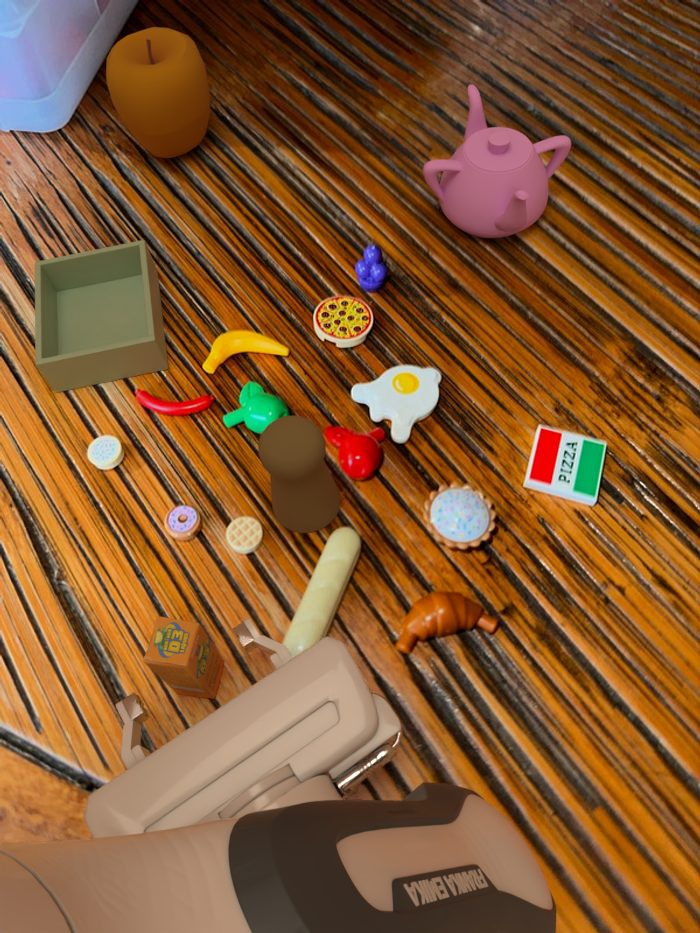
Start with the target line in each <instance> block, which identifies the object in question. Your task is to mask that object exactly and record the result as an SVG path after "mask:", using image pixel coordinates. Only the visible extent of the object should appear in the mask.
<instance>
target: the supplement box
mask: <svg viewBox="0 0 700 933" xmlns="http://www.w3.org/2000/svg"><path fill="white" fill-rule="evenodd" d="M142 661H143V663H144V664H145V665H147V667H149V668H150V669H151V670H152V672H154V673H155V674H156V675H157V676H158V677H159V678H160V679H161V680H162V681H163V682H164V683H165V684H166V685H167V686H168V687H170V689H172V690H173V691H174V692H175V693H176V694H177V695H183V696H189V697H195V698H202V699H203V698H205V699H211V700H214V699H216V697H217V693H218V689H219V685H220V682H221V678H222V673H223V670H224V665H225V659H224V658H223V656H222V655H221V654H220V652H219V651H218V649H217V647H216V646H215V644H214V643H213V641H212V640H211V638H210V637H209V635H208V634H207V633H206V631H205V629H204V628H203V627H202V625H201V624H200V623H199V622H195V621H188V620H183V619H177V618H171V617H166V616H161V615H159V616H156V617H155V621H154V629H153V632H152V634H151V637H150V640H149V644H148V647H147V649H146V651H145V653H144V657H143V660H142Z"/></svg>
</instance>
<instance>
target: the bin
mask: <svg viewBox="0 0 700 933" xmlns="http://www.w3.org/2000/svg"><path fill="white" fill-rule="evenodd" d="M165 333H166V332H165V326H164V317H163V308H162V299H161V289H160V280H159V273H158V269H157V267H156V264H155V262H154V259H153V257H152V254H151V252H150V250H149V246H148V244H147V243H146V240H145V239H141V240H136V241H131V242H127V243H126V242H125V243H121V244H117V245H111V246H106V247H102V248H97V249H91V250H88V251H83V252H76V253H71V254H67V255H62V256H58V257H53V258H48V259H43V260H36V261H35V262H34V338H35V339H34V343H35V344H34V346H35V347H34V348H35V352H34V355H35V358H34V359H35V363H34V364H35V366H36V368H37V369H38V371H39V372H40V373H41V375H42V376H43V377H44V379H45V380H46V382H47V383H48V384H49V386H50V387H51V389H52V390H53V391H54V393H56V394H57V393H61V392H66V391H71V390H76V389H80V388H85V387H89V386H90V387H91V386H94V385H100V384H104V383H109V382H113V381H118V380H123V379H128V378H133V377H137V376H142V375H146V374H147V375H148V374H150V373H157V372H161V371H166V370H169V360H168V352H167V344H166V334H165Z"/></svg>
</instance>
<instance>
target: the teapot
mask: <svg viewBox="0 0 700 933" xmlns="http://www.w3.org/2000/svg"><path fill="white" fill-rule="evenodd" d="M467 97H468V101H469V102H468V103H469V110H468V116H467V122H466V126H465V130H464V137H463V142H462V144H461V145H460V146H459V147H458V148H457V149H455V151H454V153H453V154H452V156H451V157H450V158H449V159H445V158H444V159H442V158H441V159H439V158H437V159H431V160H429V161H427V162H425V164H424V165H423V168H422V174H423V179H424V181H425V182H426V184H427V186H428V187H429V189H430V190H431V192H433V194H434V195H435V196H436V197H437V199H438V202H439V206H440V208H441V210H442V212H443V214H444V216H445V217H446V218H447V219H448V220H449V221H450V222H451V224H453V225H454V226H456V227H457V228H458V229H459V230H461V231H463V232H465V233H467V234H469V235H472V236H474V237H477V238H485V239H499V238H506V237H510V236H513V235H515V234H518V233H520V232H522V231H524V230H526V229H528V228H529V227H530V226H532V225H533V224H535V223H536V222H537V221H538V220H539V219H540V218H541V216H542V215H543V213H544V212H545V210H546V207H547V204H548V200H549V199H548V198H549V180H550V178H552V176H553V175H554V174H555V173H556V172H557V170H558V169H559V168H560V166H561V165H562V164H563V162H564V161H565V160H566V158H567V157H568V155H569V153H570V150H571V147H572V141H571V138H570V137H569V136H567V135H564V134H563V135H561V134H560V135H556V136H551V137H548V138H546V139H543V140H540V141H537V142H535V143H533V142H531V140H530V139H529V138H528V137H527V136H526V135H525V134H524V133H522V132H521V131H518V130H516V129H513V128H510V127H505V126H494V127H493V126H491V127H488V125H487V121H486V117H485V112H484V109H483V108H484V107H483V102H482V97H481V94H480V90H479V89H478V88H477V86H475V85H474V84H469V85H468V87H467ZM552 150H553V151H554V152H553V155H552V156H551V158H550V159H549V161H548V163H547V164H546V165H545V164H544V162H543V159H542V157H541V155H542V154H544V153H546V152H548V151H552ZM441 172H442V175H441V178H440V181H439V179H438V173H441Z"/></svg>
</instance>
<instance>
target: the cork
mask: <svg viewBox="0 0 700 933" xmlns="http://www.w3.org/2000/svg"><path fill="white" fill-rule="evenodd" d="M257 445H258V446H257V447H258V449H257V450H258V451H257V454H258V457H259V459H260V463H261V465H262V467H263V468H264V470H266V472H267V473H268V475H269V478H270V479H269V480H270V492H271V495H270V496H271V509H272V511H273V514H274V517H275V519H276V520H277V521H278V522H279V524H280V525H281V526H282V527H284V528H285V529H287V530H289V531H291V532H295V533H298V534H308V533H309V534H310V533H315V532H318V531H320V530H323V529H324V528H326V527H327V526H328V525H330V524H331V523H332V522H333V521H334V520H335V518H336V516H337V515H338V513H339V511H340V507H341V493H340V490H339V488H338V486H337V483H336V481H335V478H334V477H333V476H332V473H331V471H330V470H329V467H328V465H327V463H326V460H325V457H326V453H327V446H326V445H327V444H326V439H325V436H324V434H323V432H322V430H321V429H320V427H318V425H316V423H315V422H314V421H313V420H310V419H308V418H307V417H303V416H299V415H294V414H293V415H284V416H281V417H278V418H276V419H274V420H273V421H271V422H270V423H269V424H267V426H266V427H265V428H264V429H263V430H262V432H261V434H260V437H259V440H258V444H257Z"/></svg>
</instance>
